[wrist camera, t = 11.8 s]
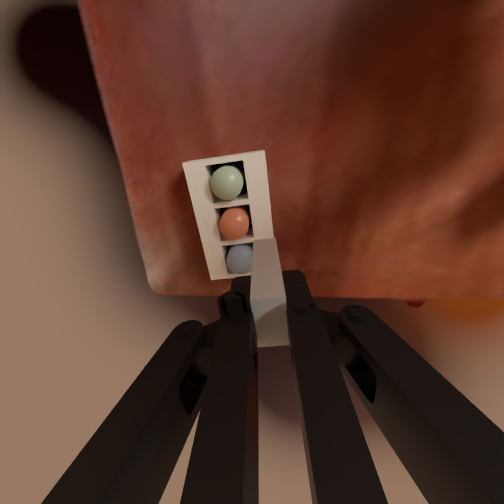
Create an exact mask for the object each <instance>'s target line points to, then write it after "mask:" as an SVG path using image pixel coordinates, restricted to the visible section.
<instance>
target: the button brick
mask: <svg viewBox="0 0 504 504" xmlns="http://www.w3.org/2000/svg"><path fill="white" fill-rule="evenodd" d="M249 219H250V212H249V210H248V208H247V207H246V206H245V205H239V206H231V207H227V208H226V209H225V211H224V213H223V215H222V217H221V219H220V222H219V229H220V231H221V233H222V234H223V235H224V236H225V237H226V238H228V239H231V240H238V239H241V238H242V237H244V236H245V235H246V233H247V231H248V227H249Z"/></svg>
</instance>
